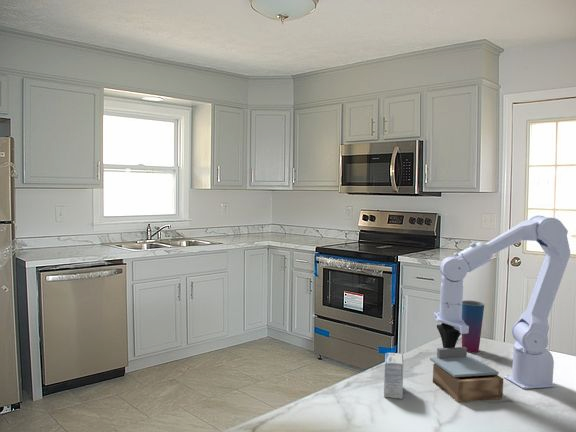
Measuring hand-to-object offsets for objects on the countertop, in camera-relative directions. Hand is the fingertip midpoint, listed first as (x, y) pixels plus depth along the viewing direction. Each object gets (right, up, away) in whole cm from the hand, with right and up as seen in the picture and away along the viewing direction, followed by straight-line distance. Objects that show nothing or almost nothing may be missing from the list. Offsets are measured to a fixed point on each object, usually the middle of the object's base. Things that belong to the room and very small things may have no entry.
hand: (448, 352), depth 135 cm
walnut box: (+2, -7, -8) cm, 11 cm away
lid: (+1, -2, -7) cm, 7 cm away
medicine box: (-17, -7, -11) cm, 21 cm away
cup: (+14, -6, +23) cm, 28 cm away
